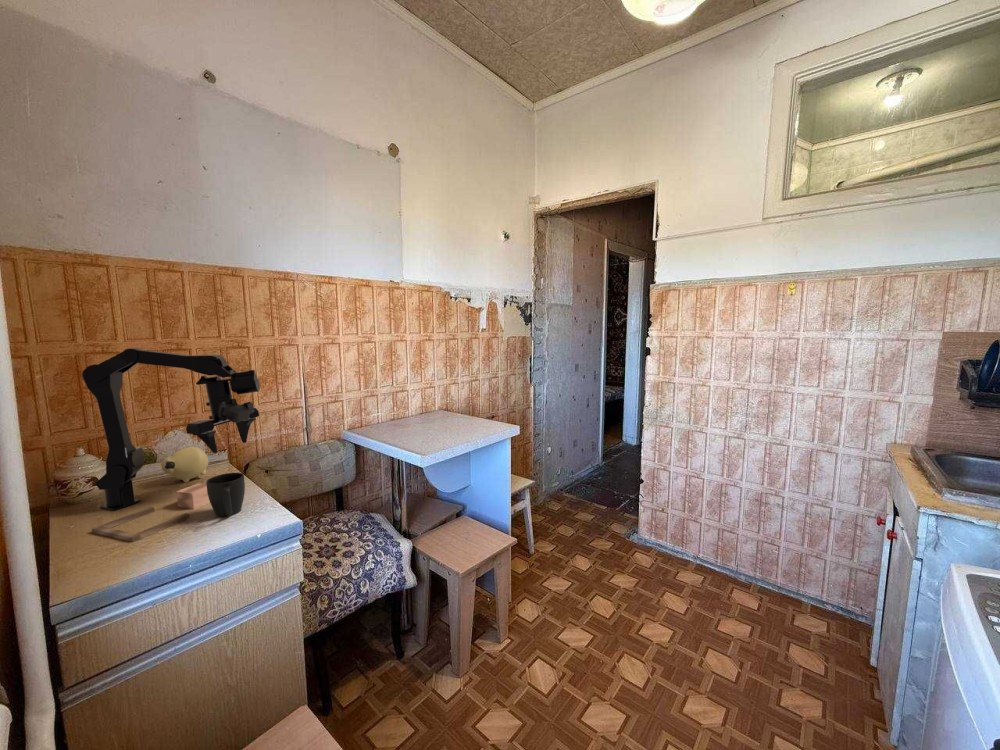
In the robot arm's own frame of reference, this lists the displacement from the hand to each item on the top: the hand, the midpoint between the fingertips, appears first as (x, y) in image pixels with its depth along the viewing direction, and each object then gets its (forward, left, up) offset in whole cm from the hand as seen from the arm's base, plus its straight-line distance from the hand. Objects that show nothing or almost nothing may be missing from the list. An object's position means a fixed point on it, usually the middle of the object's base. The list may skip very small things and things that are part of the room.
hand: (230, 447), depth 122 cm
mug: (+15, -14, -13) cm, 24 cm away
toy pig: (-23, +1, -13) cm, 26 cm away
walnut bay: (-1, -23, -13) cm, 26 cm away
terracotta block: (-1, -11, -13) cm, 17 cm away
